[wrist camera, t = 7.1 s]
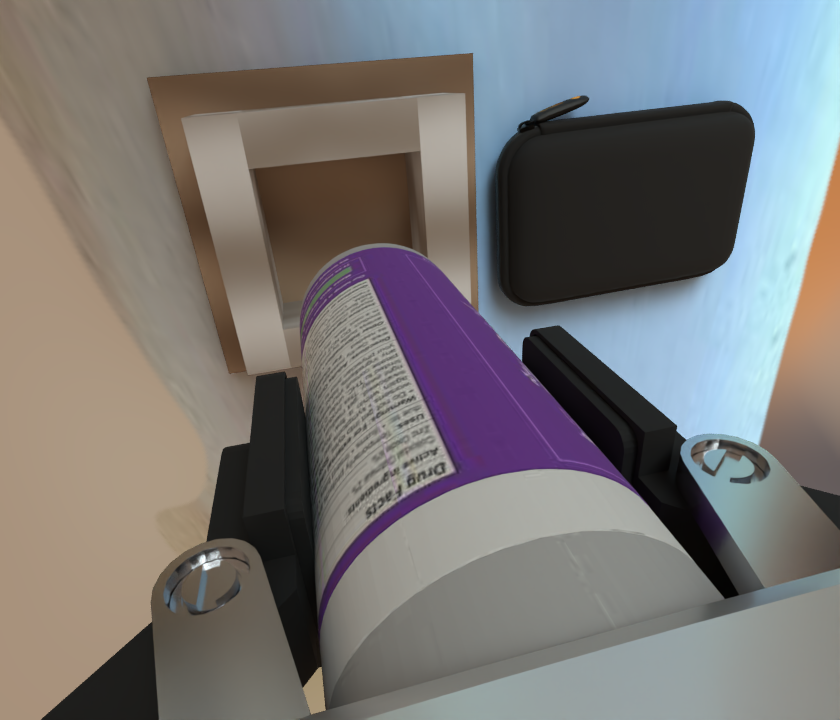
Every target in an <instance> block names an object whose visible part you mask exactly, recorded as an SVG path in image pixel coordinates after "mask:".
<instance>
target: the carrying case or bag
mask: <svg viewBox="0 0 840 720" xmlns="http://www.w3.org/2000/svg"><path fill="white" fill-rule="evenodd" d="M588 100H589V98H588V97H587V96H577V97H574V98H571V99H568V100H566V101H563V102H560V103H558V104H555V105H553V106H551V107H548V108H546V109H544V110H542V111H540V112H537V113H536V114H534V115H532V116H531V119H530V120H527V121H524V122H522V123H520V124H519V126H518V128H517V131H518V132H517V133H516V134H515V135H514V136H513V137H512V138H511V139H510V140H509V141H508V142H507V143H506V145H505V146H504V148H503V150H502V152H501V154H500V156H499V159H498V161H497V165H496V217H497V261H498V283H499V286H500V288H501V290H502V292H503V293H504V294H505V295H506V297H507V298H509V299H510V300H511V301H513V302H514V303H516V304H519V305H522V306H538V305H544V304H551V303H557V302H562V301H568V300H573V299H579V298H584V297H590V296H595V295H601V294H606V293H612V292H617V291H623V290H628V289H634V288H639V287H645V286H651V285H656V284H662V283H667V282H673V281H679V280H684V279H689V278H694V277H699V276H702V275H705V274H708V273H711V272H712V271H714V270H715V269H717V268H718V267H720V266H721V265H723V264H724V263H725V262H726V261H727V260H728V258H729V257H730V255H731V253H732V251H733V248H734V244H735V239H736V234H737V228H738V223H739V218H740V213H741V208H742V203H743V198H744V193H745V188H746V182H747V177H748V172H749V167H750V162H751V157H752V152H753V146H754V140H755V128H754V123H753V120H752V118H751V116H750V114H749V113H748V112H747V111H746V110H745V109H744V108H743V107H742V106H740V105H739V104H737V103H733V102H731V101H715V102H709V103H701V104H692V105H683V106H675V107H666V108H657V109H649V110H640V111H631V112H622V113H614V114H605V115H596V116H588V117H579V118H570V119H561V120H553V121H548V120H551V119H554V118H556V117H559V116H561V115H564V114H566V113H568V112H570V111H573V110H575V109H577V108H579V107H581V106H583V105H584V104H586V103H587V102H588ZM523 124H524V125H523Z"/></svg>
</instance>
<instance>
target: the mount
mask: <svg viewBox="0 0 840 720" xmlns="http://www.w3.org/2000/svg"><path fill="white" fill-rule="evenodd" d="M147 81H148V84H149V88H150V91H151V95H152V98H153V102H154V106H155V109H156V113H157V116H158V120H159V124H160V127H161V131H162V134H163V138H164V141H165V145H166V149H167V152H168V156H169V159H170V163H171V167H172V170H173V174H174V177H175V181H176V184H177V188H178V192H179V195H180V199H181V202H182V206H183V209H184V213H185V217H186V220H187V224H188V227H189V231H190V235H191V238H192V242H193V245H194V249H195V252H196V256H197V260H198V263H199V267H200V270H201V274H202V278H203V281H204V285H205V288H206V292H207V295H208V299H209V303H210V306H211V310H212V313H213V317H214V321H215V324H216V328H217V331H218V335H219V338H220V342H221V346H222V349H223V353H224V356H225V360H226V363H227V367H228V371H229V374H231V373H237V372H243V371H247V374H248V375H253V374H259V373H265V372H271V371H277V370H283V369H289V368H295V367H301V366H302V359H301V342H300V310H301V305H302V301H303V298H304V295H305V292H306V290H307V288H308V286H309V284H310V282H311V281H312V279H313V278H314V277H315V275H316V274H317V273H318V272H319V270H320V269H321V268H322V267H323V266H324V265H326V264H327V263H328V262H329V261H330V260H332V259H333V258H335V257H336V256H338V255H340V254H341V253H343V252H345V251H348V250H350V249H352V248H355V247H359V246H362V245H368V244H376V243H388V244H396V245H401V246H405V247H407V248H410V249H413V250H415V251H417V252H419V253H421V254H423V255H424V256H426V257H427V258H428V259H430V260H431V261H432V262H433V263H434V264H435V265H436V266H437V267H438V268H439V269H440V270H441V271H442V272H443V273H444V274H445V275H446V276H447V278H448V279H449V280H450V281H451V282H452V283H453V284H454V285H455V287H456V288H457V289H458V290H459V291H460V292H461V293H462V295H463V296H464V297H465V298H466V299H467V300H468V301H469V302H470V304H471V305H472V306H473V307H474V308H475V309H476V310H477V312H478V270H477V224H476V178H475V132H474V86H473V53H469V54H455V55H442V56H429V57H415V58H402V59H389V60H376V61H362V62H349V63H336V64H322V65H309V66H296V67H282V68H269V69H256V70H242V71H229V72H216V73H202V74H189V75H176V76H162V77H149V78H147Z"/></svg>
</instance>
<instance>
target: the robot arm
mask: <svg viewBox="0 0 840 720" xmlns="http://www.w3.org/2000/svg"><path fill="white" fill-rule="evenodd" d="M522 362H523V364H524V365H525V366H526V367H527V368H528V369H529V370H530V372H531V373H532V374H533V375H534V376H535V377H536V378H537V379H538V381H539V382H540V383H541V384H542V385H543V386H544V387H545V388H546V390H547V391H548V392H549V393H550V394H551V395H552V396H553V398H554V399H555V400H556V401H557V402H558V403H559V404H560V405H561V407H562V408H563V409H564V410H565V411H566V412H567V413H568V415H569V416H570V417H571V418H572V419H573V420H574V421H575V422H576V424H577V425H578V426H579V427H580V428H581V429H582V430H583V432H584V433H585V434H586V435H587V436H588V437H589V438H590V439H591V441H592V442H593V443H594V444H595V445H596V446H597V447H598V449H599V450H600V451H601V452H602V453H603V454H604V455H605V456H606V458H607V459H608V460H609V461H610V462H611V463H612V464H613V465H614V467H615V468H616V469H617V470H618V471H619V472H620V473H621V475H622V476H623V477H624V478H625V479H626V480H627V481H628V482H629V484H630V485H631V486H632V487H633V488H634V489H635V490H636V492H637V493H638V494H639V495H640V496H641V497H642V498H643V499H644V501H645V502H646V503H647V504H648V505H649V507H650V508H651V510H652V511H653V512H654V513H655V515H656V516H657V517H658V518H659V520H660V521H661V522H662V523H663V524H664V526H665V527H666V528H667V529H668V530H669V532H670V533H671V534H672V535H673V536H674V538H675V539H676V540H677V541H678V543H679V544H680V545H681V546H682V547H683V549H684V550H685V551H686V552H687V553H688V555H689V556H690V557H691V558H692V559H693V561H694V562H695V563H696V565H697V566H698V567H699V568H700V569H701V571H702V572H703V573H704V574H705V575H706V577H707V578H708V579H709V580H710V581H711V583H712V584H713V585H714V586H715V587H716V589H717V590H718V591H719V592H720V593H721V595H722V596H723V597H724V598H725V599H724V600H720V601H717V602H713V603H709V604H705V605H702V606H698V607H694V608H691V609H687V610H683V611H680V612H676V613H673V614H669V615H665V616H662V617H658V618H654V619H651V620H647V621H644V622H640V623H636V624H633V625H629V626H625V627H622V628H618V629H615V630H611V631H607V632H604V633H600V634H596V635H593V636H589V637H586V638H582V639H578V640H575V641H571V642H568V643H564V644H560V645H557V646H553V647H550V648H546V649H542V650H539V651H535V652H532V653H528V654H524V655H521V656H517V657H514V658H510V659H506V660H503V661H499V662H496V663H492V664H489V665H485V666H481V667H478V668H474V669H471V670H467V671H464V672H460V673H457V674H453V675H450V676H446V677H443V678H439V679H435V680H432V681H428V682H425V683H421V684H418V685H414V686H411V687H407V688H404V689H400V690H397V691H393V692H390V693H386V694H382V695H379V696H375V697H372V698H368V699H365V700H361V701H358V702H354V703H351V704H347V705H344V706H340V707H336V708H333V709H329V710H326V711H323V712H319V713H315V714H312V715H311V713H310V710H309V707H308V704H307V701H306V697H305V694H304V691H303V687H304V685H305V684H306V683H307V682H308V680H309V679H310V678H311V676H312V675H313V674H314V673H315V671H316V670H317V669H318V668H319V667H322V665H321V654H320V648H319V633H318V617H317V601H316V585H315V557H314V541H313V526H312V510H311V495H310V479H309V463H308V448H307V432H306V417H305V412H304V407H303V402H302V397H301V393H300V388H299V383H298V379H297V377H292V378H287V376H286V373H285V372H279V373H274V374H268V375H262V376H257V377H256V385H255V395H254V405H253V415H252V426H251V436H250V443H246V444H241V445H235V446H230V447H225V448H224V449H223V451H222V455H221V460H220V466H219V472H218V478H217V484H216V489H215V495H214V501H213V507H212V512H211V518H210V524H209V530H208V536H207V541H206V542H205V543H201V544H199V545H197V546H195V547H193V548H191V549H189V550H187V551H185V552H184V553H183V554H181V555H180V556H179V557H177V558H176V559H175V560H173V561H172V562H171V563H170V564H169V565H168V566H167V568H166V569H165V570H164V571H163V572H162V573H161V574H160V576H159V578H158V580H157V582H156V584H155V586H154V587H153V591H152V598H151V611H152V622H151V623H150V624H149V625H148V626H147V627H145V628H144V629H143V630H142V631H141V632H140V633H139V634H137V635H136V636H135V637H134V638H133V639H132V640H131V641H129V642H128V643H127V644H126V645H125V646H124V647H123V648H122V649H120V650H119V651H118V652H117V653H116V654H115V655H114V656H113V657H111V658H110V659H109V660H108V661H107V662H106V663H105V664H103V665H102V666H101V667H100V668H99V669H98V670H97V671H95V672H94V673H93V674H92V675H91V676H90V677H89V678H88V679H87V680H85V681H84V682H83V683H82V684H81V685H80V686H78V687H77V688H76V689H75V690H74V691H73V692H72V693H71V694H70V695H68V696H67V697H66V698H65V699H64V700H63V701H61V702H60V703H59V704H58V705H57V706H56V707H55V708H54V709H52V710H51V711H50V712H49V713H48V714H47V715H46V716H44V717H43V718H42V719H41V720H840V496H838V495H834V494H830V493H827V492H823V491H819V490H815V489H811V488H807V487H804V486H800V485H799V484H798V483H797V482H796V481H795V480H794V478H793V477H792V476H791V475H790V474H789V473H788V472H787V471H786V470H785V468H784V467H783V466H782V465H781V464H780V463H779V462H778V461H777V460H776V458H775V457H773V456H772V455H771V454H770V453H769V452H768V451H766V450H765V449H763V448H761V447H760V446H758V445H756V444H754V443H752V442H749V441H747V440H744V439H741V438H738V437H734V436H729V435H724V434H703V435H697V436H694V437H692V438H690V439H687V440H686V439H685V438H684V437H682V436H681V435H680V434H679V433H678V432H677V431H676V429H677V425H676V424H674V423H673V422H672V421H671V420H670V419H669V418H667V417H666V416H665V415H664V414H663V413H662V412H660V411H659V410H658V409H657V408H656V407H655V406H653V405H652V404H651V403H650V402H649V401H647V400H646V399H645V398H644V397H643V396H642V395H640V394H639V393H638V392H637V391H636V390H635V389H633V388H632V387H631V386H630V385H629V384H628V383H626V382H625V381H624V380H623V379H622V378H620V377H619V376H618V375H617V374H616V373H615V372H613V371H612V370H611V369H610V368H609V367H608V366H606V365H605V364H604V363H603V362H602V361H601V360H599V359H598V358H597V357H596V356H595V355H593V354H592V353H591V352H590V351H589V350H588V349H586V348H585V347H584V346H583V345H582V344H581V343H579V342H578V341H577V340H576V339H575V338H574V337H572V336H571V335H570V334H569V333H568V332H566V331H565V330H564V329H563V328H562V327H560V326H552V327H546V328H540V329H534V330H532V331H531V333H530V337H526V338H524V340H523V347H522Z"/></svg>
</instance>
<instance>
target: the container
mask: <svg viewBox="0 0 840 720" xmlns="http://www.w3.org/2000/svg"><path fill="white" fill-rule="evenodd" d="M300 342H301V359H302V375H303V391H304V407H305V417H306V432H307V448H308V463H309V479H310V495H311V510H312V526H313V541H314V557H315V585H316V601H317V617H318V633H319V648H320V654H321V665H322V675H323V686H324V697H325V707H326V710H329V709H333V708H336V707H340V706H344V705H347V704H351V703H354V702H358V701H361V700H365V699H368V698H372V697H375V696H379V695H382V694H386V693H390V692H393V691H397V690H400V689H404V688H407V687H411V686H414V685H418V684H421V683H425V682H428V681H432V680H435V679H439V678H443V677H446V676H450V675H453V674H457V673H460V672H464V671H467V670H471V669H474V668H478V667H481V666H485V665H489V664H492V663H496V662H499V661H503V660H506V659H510V658H514V657H517V656H521V655H524V654H528V653H532V652H535V651H539V650H542V649H546V648H550V647H553V646H557V645H560V644H564V643H568V642H571V641H575V640H578V639H582V638H586V637H589V636H593V635H596V634H600V633H604V632H607V631H611V630H615V629H618V628H622V627H625V626H629V625H633V624H636V623H640V622H644V621H647V620H651V619H654V618H658V617H662V616H665V615H669V614H673V613H676V612H680V611H683V610H687V609H691V608H694V607H698V606H702V605H705V604H709V603H713V602H717V601H720V600H724V599H725V598H724V597H723V596H722V595H721V593H720V592H719V591H718V590H717V589H716V587H715V586H714V585H713V584H712V583H711V581H710V580H709V579H708V578H707V577H706V575H705V574H704V573H703V572H702V571H701V569H700V568H699V567H698V566H697V565H696V563H695V562H694V561H693V559H692V558H691V557H690V556H689V555H688V553H687V552H686V551H685V550H684V549H683V547H682V546H681V545H680V544H679V543H678V541H677V540H676V539H675V538H674V536H673V535H672V534H671V533H670V532H669V530H668V529H667V528H666V527H665V526H664V524H663V523H662V522H661V521H660V520H659V518H658V517H657V516H656V515H655V513H654V512H653V511H652V510H651V508H650V507H649V505H648V504H647V503H646V502H645V501H644V499H643V498H642V497H641V496H640V495H639V494H638V493H637V492H636V490H635V489H634V488H633V487H632V486H631V485H630V484H629V482H628V481H627V480H626V479H625V478H624V477H623V476H622V475H621V473H620V472H619V471H618V470H617V469H616V468H615V467H614V465H613V464H612V463H611V462H610V461H609V460H608V459H607V458H606V456H605V455H604V454H603V453H602V452H601V451H600V450H599V449H598V447H597V446H596V445H595V444H594V443H593V442H592V441H591V439H590V438H589V437H588V436H587V435H586V434H585V433H584V432H583V430H582V429H581V428H580V427H579V426H578V425H577V424H576V422H575V421H574V420H573V419H572V418H571V417H570V416H569V415H568V413H567V412H566V411H565V410H564V409H563V408H562V407H561V405H560V404H559V403H558V402H557V401H556V400H555V399H554V398H553V396H552V395H551V394H550V393H549V392H548V391H547V390H546V388H545V387H544V386H543V385H542V384H541V383H540V382H539V381H538V379H537V378H536V377H535V376H534V375H533V374H532V373H531V372H530V370H529V369H528V368H527V367H526V366H525V365H524V364H523V362H522V361H521V360H520V359H519V358H518V357H517V356H516V355H515V353H514V352H513V351H512V350H511V349H510V348H509V347H508V345H507V344H506V343H505V342H504V341H503V340H502V339H501V338H500V336H499V335H498V334H497V333H496V332H495V331H494V330H493V328H492V327H491V326H490V325H489V324H488V323H487V322H486V321H485V319H484V318H483V317H482V316H481V315H480V314H479V313H478V312H477V310H476V309H475V308H474V307H473V306H472V305H471V304H470V302H469V301H468V300H467V299H466V298H465V297H464V296H463V295H462V293H461V292H460V291H459V290H458V289H457V288H456V287H455V285H454V284H453V283H452V282H451V281H450V280H449V279H448V278H447V276H446V275H445V274H444V273H443V272H442V271H441V270H440V269H439V268H438V267H437V266H436V265H435V264H434V263H433V262H432V261H431V260H430V259H428V258H427V257H426V256H424V255H423V254H421V253H419V252H417V251H415V250H413V249H410V248H407V247H405V246H401V245H396V244H388V243H376V244H368V245H362V246H359V247H355V248H352V249H350V250H348V251H345V252H343V253H341V254H340V255H338V256H336V257H335V258H333V259H332V260H330V261H329V262H328V263H327V264H326V265H324V266H323V267H322V268H321V269H320V270H319V272H318V273H317V274H316V275H315V277H314V278H313V279H312V281H311V282H310V284H309V286H308V288H307V290H306V292H305V295H304V298H303V301H302V305H301V310H300Z"/></svg>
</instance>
